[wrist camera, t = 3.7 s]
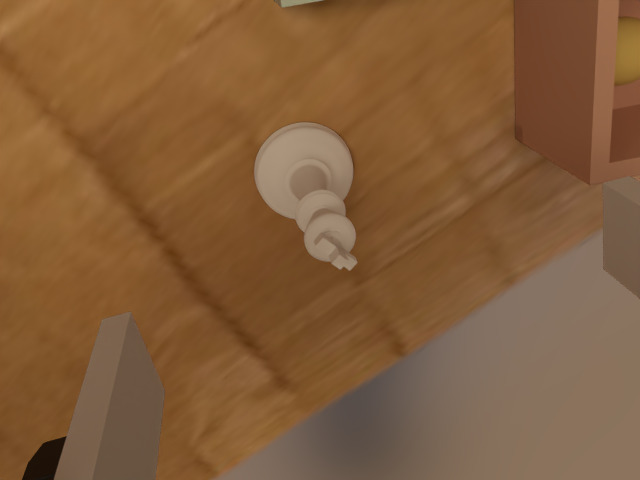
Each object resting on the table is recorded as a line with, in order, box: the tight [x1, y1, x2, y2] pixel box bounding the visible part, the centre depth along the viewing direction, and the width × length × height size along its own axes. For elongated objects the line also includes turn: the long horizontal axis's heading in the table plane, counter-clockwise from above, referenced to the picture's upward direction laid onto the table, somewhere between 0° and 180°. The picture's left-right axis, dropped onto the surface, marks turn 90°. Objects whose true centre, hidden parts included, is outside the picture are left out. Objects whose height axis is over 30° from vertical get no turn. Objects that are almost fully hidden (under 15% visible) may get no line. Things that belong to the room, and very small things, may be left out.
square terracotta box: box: [514, 0, 640, 185], centre depth 27 cm, size 8×8×7 cm
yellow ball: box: [614, 16, 640, 85], centre depth 28 cm, size 3×3×3 cm
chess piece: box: [254, 122, 358, 271], centre depth 26 cm, size 5×5×10 cm
